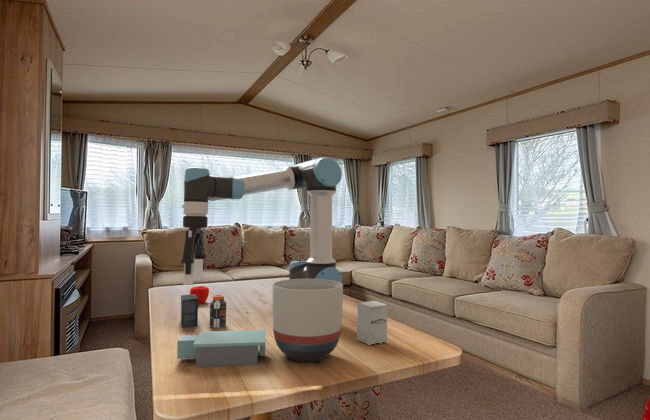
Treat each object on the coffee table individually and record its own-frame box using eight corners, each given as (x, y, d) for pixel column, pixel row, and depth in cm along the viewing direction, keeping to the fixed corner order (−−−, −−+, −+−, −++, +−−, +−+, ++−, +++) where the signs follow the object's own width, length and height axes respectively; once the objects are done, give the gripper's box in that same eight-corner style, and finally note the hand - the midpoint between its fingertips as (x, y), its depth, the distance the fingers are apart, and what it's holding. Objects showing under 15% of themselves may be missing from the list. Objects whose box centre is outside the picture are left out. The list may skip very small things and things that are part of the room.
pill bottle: (221, 328, 138) (222, 297, 138) (206, 327, 139) (207, 296, 140) (228, 324, 144) (229, 294, 144) (214, 323, 145) (215, 293, 145)
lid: (265, 345, 113) (265, 329, 113) (264, 360, 102) (265, 342, 102) (183, 348, 110) (184, 332, 110) (173, 363, 98) (174, 345, 99)
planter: (283, 376, 96) (285, 292, 96) (263, 351, 114) (264, 280, 115) (354, 365, 104) (355, 287, 105) (325, 343, 123) (325, 277, 123)
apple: (195, 300, 185) (195, 284, 185) (212, 301, 184) (212, 285, 184) (185, 304, 176) (186, 287, 176) (203, 305, 175) (204, 288, 175)
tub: (258, 353, 113) (258, 333, 113) (257, 367, 102) (257, 344, 102) (203, 355, 110) (203, 334, 111) (195, 370, 99) (196, 347, 100)
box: (180, 322, 145) (181, 295, 146) (195, 321, 148) (196, 294, 148) (181, 328, 138) (182, 299, 138) (197, 326, 140) (198, 297, 141)
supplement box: (368, 346, 120) (369, 306, 121) (356, 339, 127) (356, 301, 127) (387, 343, 124) (388, 304, 124) (374, 336, 130) (375, 300, 131)
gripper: (192, 215, 134) (190, 275, 133) (172, 214, 109) (170, 288, 108) (214, 216, 135) (212, 276, 134) (199, 214, 110) (197, 288, 109)
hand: (193, 281), depth 121 cm, fingers open, 13 cm apart
